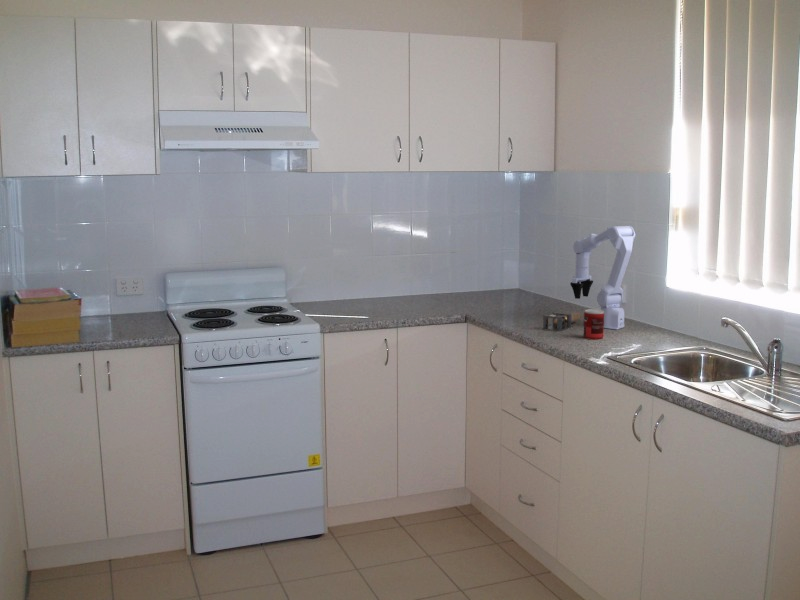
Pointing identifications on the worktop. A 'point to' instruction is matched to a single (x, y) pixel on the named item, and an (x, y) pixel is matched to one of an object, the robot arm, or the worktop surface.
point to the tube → (575, 317)
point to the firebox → (559, 322)
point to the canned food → (593, 324)
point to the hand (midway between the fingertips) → (581, 297)
